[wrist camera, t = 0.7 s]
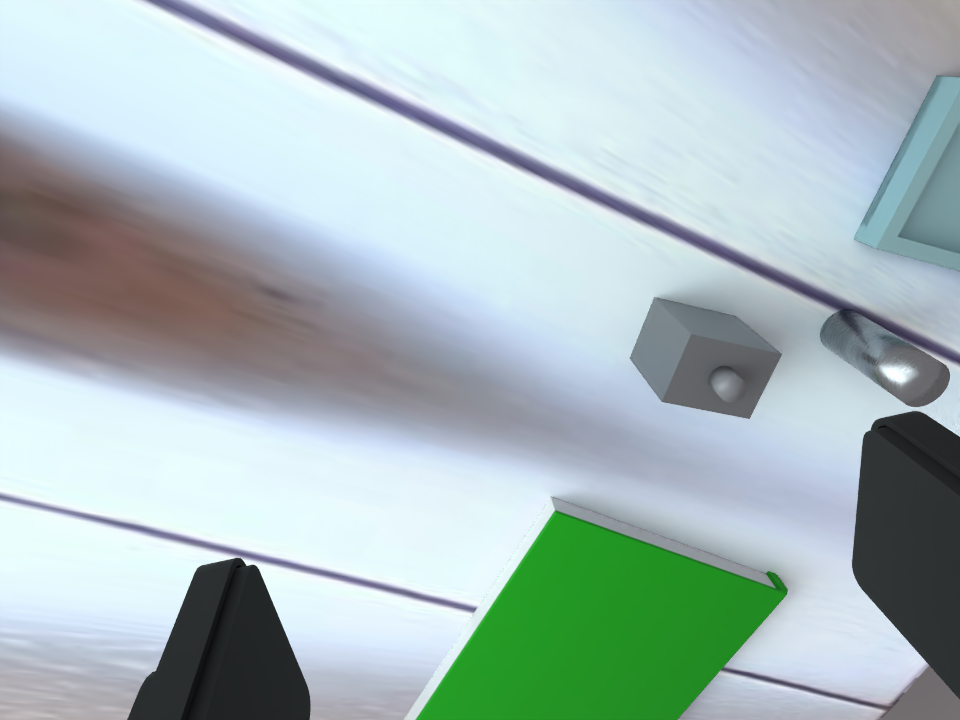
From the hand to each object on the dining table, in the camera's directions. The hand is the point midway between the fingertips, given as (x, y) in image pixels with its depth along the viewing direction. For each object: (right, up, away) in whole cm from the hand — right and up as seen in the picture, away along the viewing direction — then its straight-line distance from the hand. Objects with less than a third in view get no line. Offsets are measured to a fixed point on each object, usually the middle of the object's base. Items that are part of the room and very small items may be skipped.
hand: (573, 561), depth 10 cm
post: (+23, +5, +35) cm, 43 cm away
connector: (+12, +5, +34) cm, 37 cm away
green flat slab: (+7, -22, +47) cm, 53 cm away
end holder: (+29, +14, +32) cm, 45 cm away
